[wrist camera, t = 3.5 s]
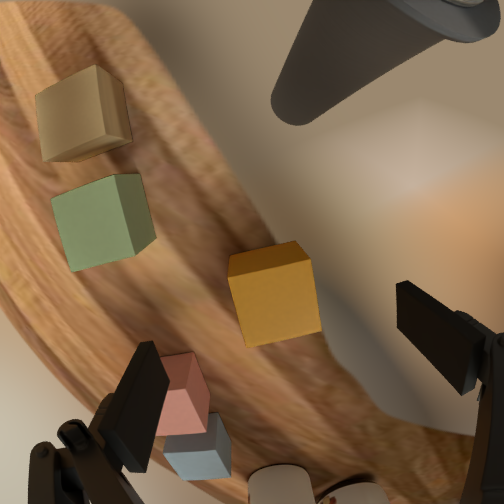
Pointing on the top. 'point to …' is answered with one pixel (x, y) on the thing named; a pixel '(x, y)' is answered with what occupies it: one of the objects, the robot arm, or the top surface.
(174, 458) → the blue-grey block
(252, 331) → the ochre block
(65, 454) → the robot arm
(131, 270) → the top surface
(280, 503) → the milk bottle
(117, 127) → the birch block
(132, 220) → the sage block
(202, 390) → the dusty pink block
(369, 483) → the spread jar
